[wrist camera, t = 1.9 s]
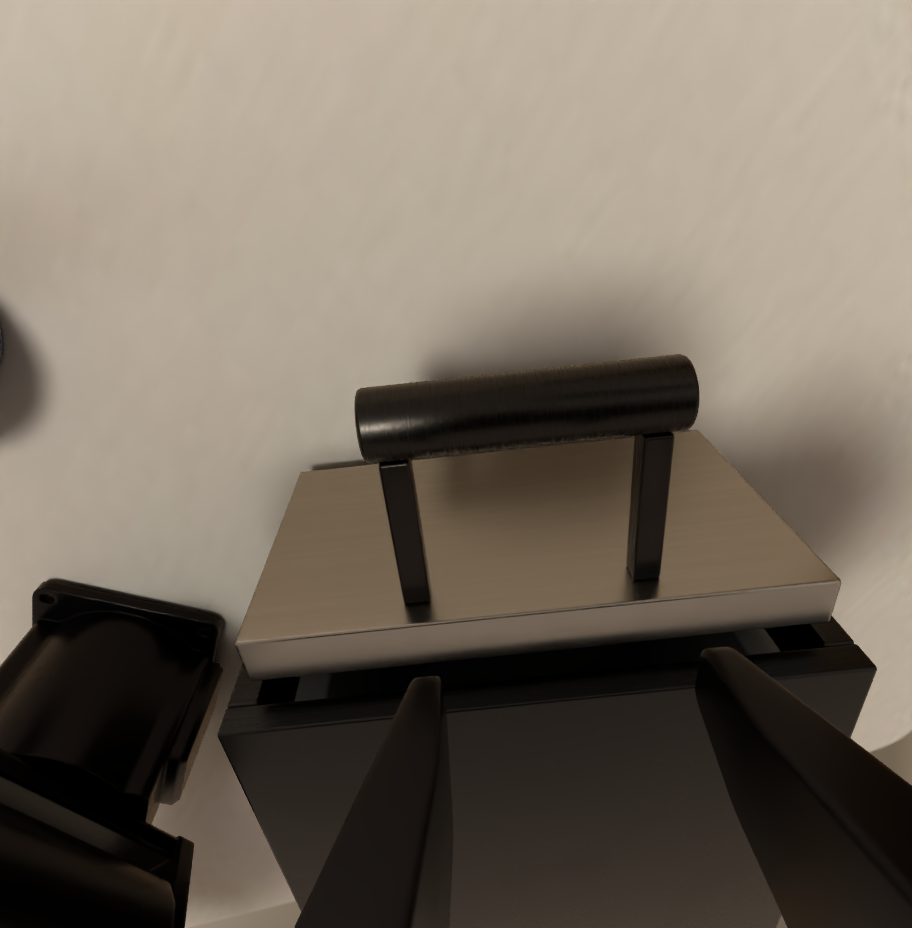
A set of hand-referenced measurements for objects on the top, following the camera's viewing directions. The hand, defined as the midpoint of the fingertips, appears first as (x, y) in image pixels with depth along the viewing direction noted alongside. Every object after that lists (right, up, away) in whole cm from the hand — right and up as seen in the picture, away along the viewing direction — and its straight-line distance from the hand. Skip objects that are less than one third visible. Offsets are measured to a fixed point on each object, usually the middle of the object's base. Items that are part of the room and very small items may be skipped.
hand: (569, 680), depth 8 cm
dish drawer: (0, 0, +11) cm, 11 cm away
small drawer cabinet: (0, -3, +14) cm, 15 cm away
